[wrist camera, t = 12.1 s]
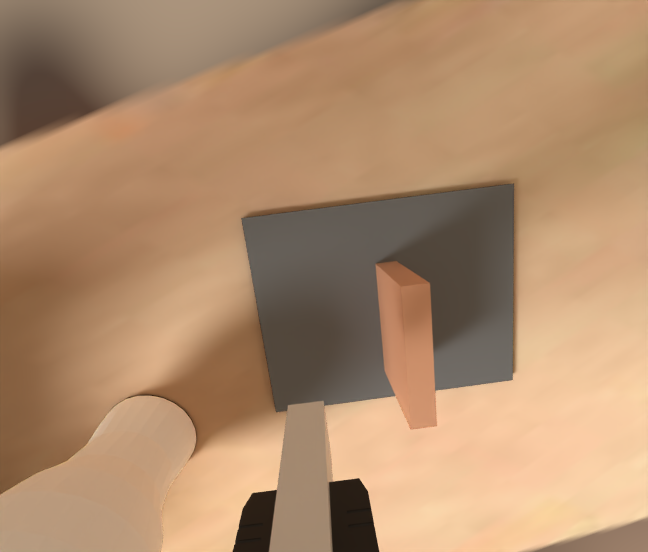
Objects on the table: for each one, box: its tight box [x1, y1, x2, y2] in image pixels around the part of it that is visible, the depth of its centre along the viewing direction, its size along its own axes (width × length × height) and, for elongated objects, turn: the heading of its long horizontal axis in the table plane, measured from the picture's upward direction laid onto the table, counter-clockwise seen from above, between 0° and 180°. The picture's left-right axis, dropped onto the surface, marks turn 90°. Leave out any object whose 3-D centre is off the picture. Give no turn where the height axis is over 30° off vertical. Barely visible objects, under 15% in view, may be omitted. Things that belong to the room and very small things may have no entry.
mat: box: [241, 184, 514, 412], centre depth 25 cm, size 20×16×1 cm
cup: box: [0, 396, 196, 552], centre depth 20 cm, size 11×11×15 cm
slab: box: [376, 261, 437, 429], centre depth 22 cm, size 2×9×7 cm, turn 7°
